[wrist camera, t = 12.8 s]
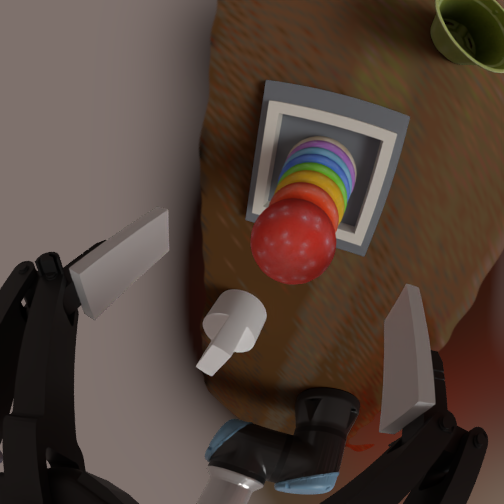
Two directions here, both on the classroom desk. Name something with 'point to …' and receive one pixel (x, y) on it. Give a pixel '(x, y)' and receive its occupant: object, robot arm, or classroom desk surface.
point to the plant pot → (470, 32)
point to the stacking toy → (304, 211)
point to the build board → (340, 129)
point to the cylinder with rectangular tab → (231, 328)
